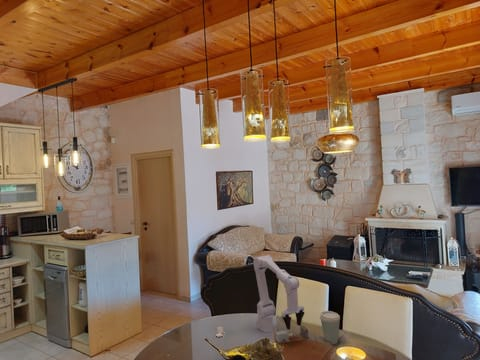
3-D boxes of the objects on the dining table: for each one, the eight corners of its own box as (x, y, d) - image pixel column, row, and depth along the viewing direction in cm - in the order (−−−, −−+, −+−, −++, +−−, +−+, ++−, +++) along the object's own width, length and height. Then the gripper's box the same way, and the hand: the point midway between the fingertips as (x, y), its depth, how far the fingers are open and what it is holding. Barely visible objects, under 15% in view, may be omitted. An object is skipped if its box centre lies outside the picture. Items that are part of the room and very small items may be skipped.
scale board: (279, 348, 176) (278, 336, 176) (271, 339, 187) (271, 328, 188) (311, 343, 180) (310, 331, 180) (301, 334, 192) (301, 323, 192)
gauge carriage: (280, 344, 177) (279, 337, 177) (275, 339, 184) (275, 331, 184) (296, 342, 179) (295, 334, 179) (291, 336, 186) (290, 329, 186)
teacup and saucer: (220, 339, 192) (220, 332, 192) (210, 336, 197) (209, 329, 197) (230, 333, 199) (229, 326, 199) (219, 330, 204) (219, 323, 204)
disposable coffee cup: (344, 339, 182) (342, 311, 183) (338, 348, 173) (337, 318, 174) (324, 336, 188) (323, 309, 188) (318, 344, 178) (316, 315, 179)
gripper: (287, 306, 172) (288, 333, 171) (307, 299, 180) (308, 325, 179) (278, 302, 177) (279, 329, 177) (298, 296, 186) (299, 321, 185)
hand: (293, 327), depth 179 cm, fingers open, 7 cm apart
